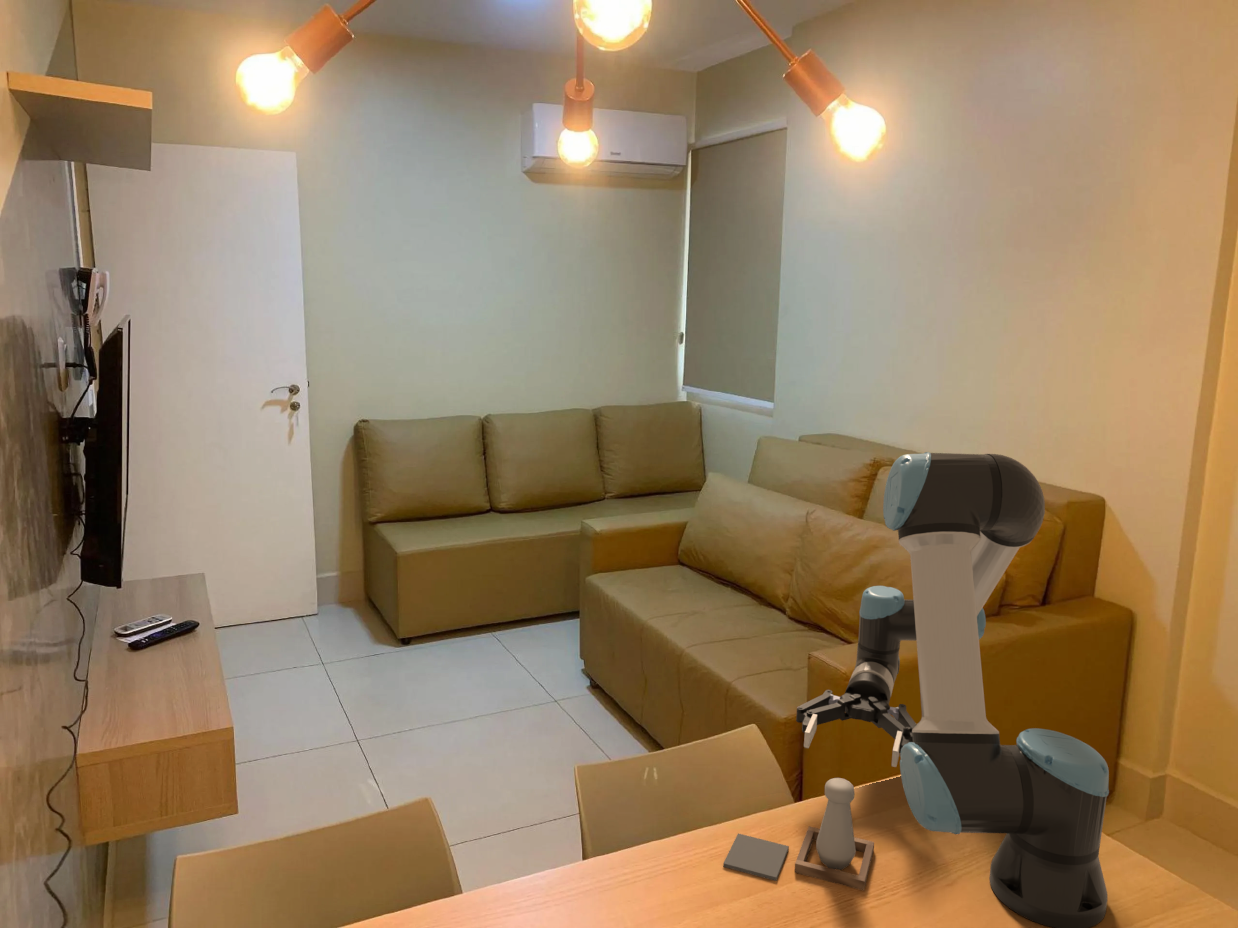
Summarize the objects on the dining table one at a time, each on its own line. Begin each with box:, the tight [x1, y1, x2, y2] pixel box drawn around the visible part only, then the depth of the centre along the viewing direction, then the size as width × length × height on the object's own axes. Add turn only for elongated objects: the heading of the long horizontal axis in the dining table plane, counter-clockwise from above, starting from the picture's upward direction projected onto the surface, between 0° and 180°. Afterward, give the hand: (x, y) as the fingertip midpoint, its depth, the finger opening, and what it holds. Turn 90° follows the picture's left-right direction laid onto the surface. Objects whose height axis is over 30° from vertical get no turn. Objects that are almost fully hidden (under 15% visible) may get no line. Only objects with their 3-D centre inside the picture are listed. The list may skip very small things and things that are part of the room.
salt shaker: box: [815, 777, 857, 871], centre depth 134 cm, size 6×6×13 cm
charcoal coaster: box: [723, 833, 790, 882], centre depth 136 cm, size 8×8×1 cm
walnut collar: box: [794, 825, 875, 891], centre depth 136 cm, size 10×10×2 cm
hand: (849, 749), depth 142 cm, fingers open, 13 cm apart
